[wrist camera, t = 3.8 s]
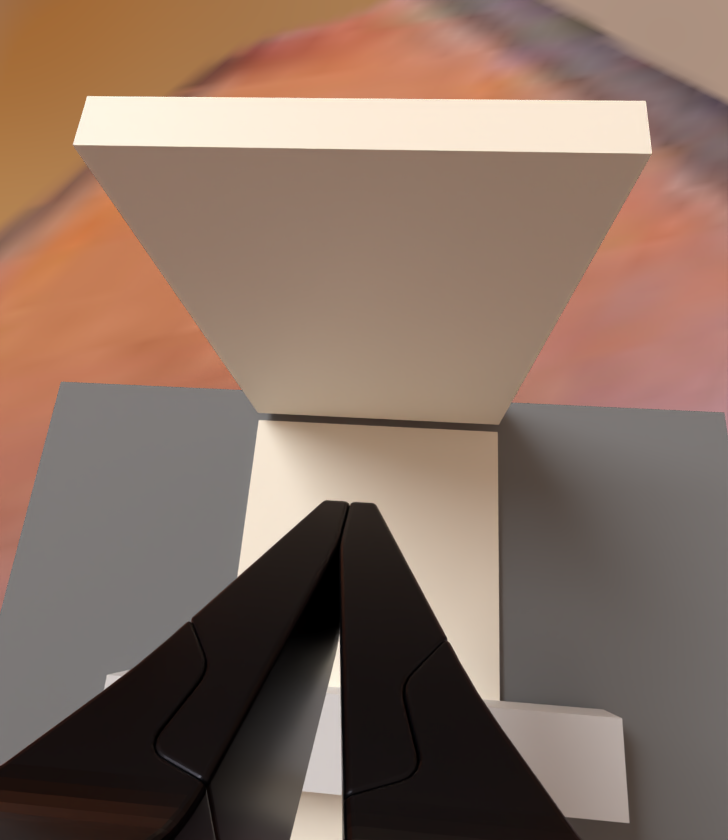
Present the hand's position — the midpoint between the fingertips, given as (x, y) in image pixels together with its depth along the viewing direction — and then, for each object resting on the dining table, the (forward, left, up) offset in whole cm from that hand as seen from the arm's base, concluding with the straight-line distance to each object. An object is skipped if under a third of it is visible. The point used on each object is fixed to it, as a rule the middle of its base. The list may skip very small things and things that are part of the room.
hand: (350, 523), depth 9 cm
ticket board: (-1, +1, -9) cm, 9 cm away
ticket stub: (+3, -3, -7) cm, 8 cm away
